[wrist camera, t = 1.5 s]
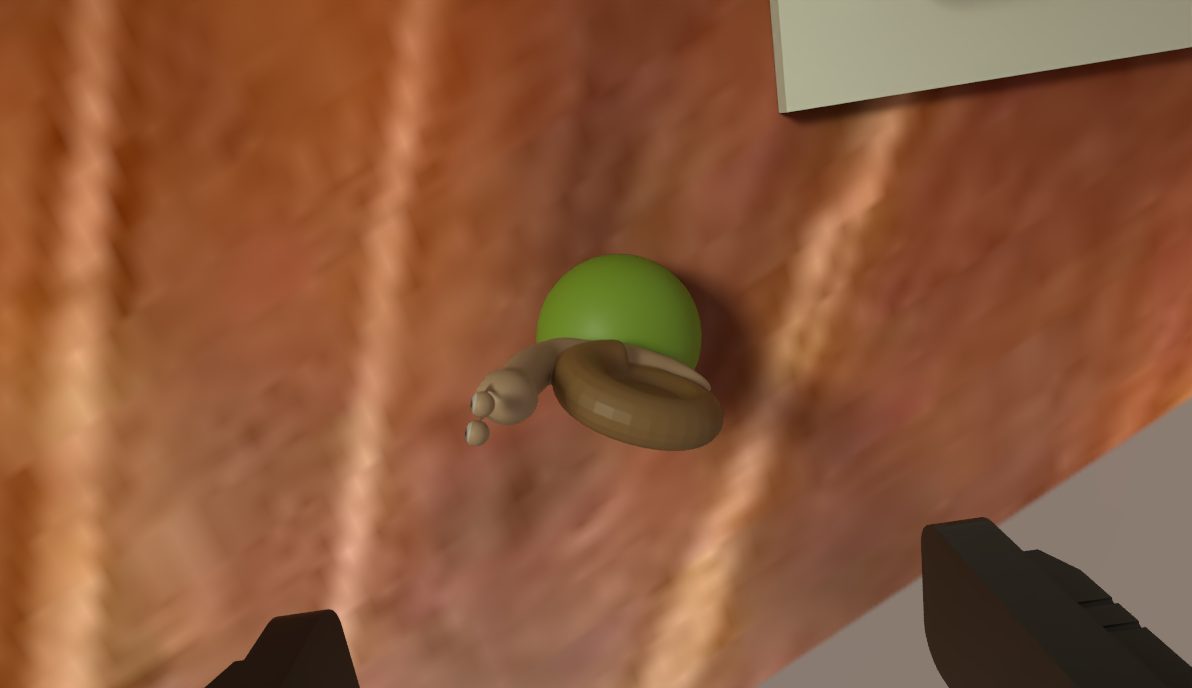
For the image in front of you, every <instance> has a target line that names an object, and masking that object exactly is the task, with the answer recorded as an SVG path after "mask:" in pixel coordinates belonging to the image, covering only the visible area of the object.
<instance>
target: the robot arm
mask: <svg viewBox="0 0 1192 688" xmlns="http://www.w3.org/2000/svg"><path fill="white" fill-rule="evenodd" d="M921 552H922V578H923V603H924V625H925V633H926V638H927V642H928V646H929V649H930V652H931V655H932V658H933V660H934V663H935V665H936V667H937V669H938V671H939V673H940V675H941V676H942V678H943V679H944V681H945V682H946V684H947V686H948V687H949V688H1192V667H1191V666H1189V665H1188V664H1187V663H1186V662H1185V661H1184V660H1183V659H1181V658H1180V657H1179V656H1178V655H1177V654H1176V653H1174V652H1173V651H1172V650H1171V649H1170V648H1169V647H1168V646H1167V645H1166V644H1164V643H1163V642H1162V641H1161V640H1160V639H1159V638H1158V637H1156V636H1155V635H1154V634H1153V633H1152V632H1151V631H1149V630H1148V629H1147V628H1146V627H1144V628H1141V626H1140V625H1139V621H1138V620H1137V619H1136V618H1135V617H1134V616H1132V615H1131V614H1130V613H1129V612H1128V611H1127V610H1125V609H1124V608H1123V607H1122V606H1121V605H1120V604H1119V603H1116V604H1114V603H1113V601H1112V597H1111V596H1109V595H1108V594H1107V593H1106V592H1105V591H1104V590H1103V589H1101V588H1100V587H1099V586H1098V585H1097V584H1096V583H1095V582H1094V581H1092V580H1091V579H1090V578H1089V577H1088V576H1087V575H1086V574H1084V573H1083V572H1082V571H1081V570H1079V569H1077V568H1075V567H1073V566H1071V565H1069V564H1067V563H1065V562H1063V561H1061V560H1059V559H1056V558H1055V557H1053V556H1050V555H1048V554H1046V553H1044V552H1042V551H1040V550H1030V551H1022V550H1021V549H1020V548H1019V547H1018V546H1017V545H1016V544H1015V543H1014V542H1013V541H1012V540H1011V539H1010V538H1009V537H1007V536H1006V535H1005V534H1004V533H1003V532H1002V531H1001V530H1000V529H999V528H998V527H997V526H996V525H995V524H994V523H993V522H992V521H990V520H989V519H987V518H984V517H980V518H973V519H966V520H959V521H952V522H945V523H938V524H931V525H926V526H925V527H924V529H923V531H922V537H921ZM205 688H360V687H359V683H358V680H357V676H356V673H355V670H354V666H353V663H352V659H351V656H350V652H349V649H348V646H347V642H346V639H345V635H344V632H343V628H342V625H341V622H340V620H339V617H338V616H337V614H336V613H335V612H334V611H333V610H330V609H328V610H320V611H313V612H307V613H300V614H293V615H286V616H279V617H275V618H273V619H272V620H271V621H270V622H269V623H268V624H267V626H266V627H265V629H264V630H263V632H262V634H261V635H260V637H259V638H258V640H257V641H256V643H255V644H254V646H253V647H252V649H251V650H250V652H249V653H248V655H247V656H246V658H245V659H244V660H242V661H235V662H233V663H232V664H231V665H230V666H229V667H228V668H227V669H225V670H224V671H223V672H222V673H221V674H220V675H219V676H217V677H216V678H215V679H214V680H213V681H212V682H211V683H209V684H208V685H207V686H206V687H205Z"/></svg>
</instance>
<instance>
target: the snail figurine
mask: <svg viewBox="0 0 1192 688" xmlns="http://www.w3.org/2000/svg"><path fill="white" fill-rule="evenodd" d="M701 344H702V329H701V322H700V317H699V313H698V310H697V307H696V305H695V303H694V300H693V299H692V297H691V295H690V293H689V292H688V290H687V289H686V287H685V286H684V285H683V284H682V282H681V281H680V280H679V279H678V278H677V277H676V276H675V275H674V274H673V273H671V272H670V271H669V270H667V269H666V268H664V267H663V266H661V265H660V264H658V263H656V262H654V261H651V260H649V259H646V258H643V257H639V256H635V255H628V254H610V255H604V256H599V257H595V258H592V259H590V260H587V261H585V262H583V263H581V264H579V265H577V266H575V267H574V268H572V269H571V270H570V271H568V272H567V273H566V274H565V275H564V276H563V277H561V278H560V279H559V281H558V282H557V283H556V284H555V285H554V286H553V288H552V289H551V291H550V292H549V294H548V296H547V297H546V299H545V301H544V303H543V306H542V308H541V311H540V315H539V319H538V324H537V343H536V344H533V345H531V346H529V347H527V348H525V349H523V350H521V351H520V352H518V353H517V354H515V355H514V356H513V357H512V358H510V359H509V360H508V361H507V362H506V363H505V364H504V365H503V366H502V367H501V369H500V370H496V371H493V372H491V373H489V374H488V375H486V377H485V378H484V379H483V381H482V383H481V384H480V385H479V386H478V388H477V390H476V393H475V394H474V396H473V398H472V400H471V411H472V413H473V414H474V415H475V416H477V417H480V418H479V419H478V420H474V421H472V422H470V423H469V424H468V426H467V428H466V432H465V438H466V441H467V442H468V443H469V444H470V445H473V446H480V445H482V444H484V443H485V442H486V441H487V440H488V438H489V428H488V426H487V425H486V424H485V423H484V422H482V421H481V420H482V419H483V418H484V417H486V418H487V419H489V420H490V421H492V422H494V423H497V424H501V425H513V424H517V423H520V422H522V421H524V420H526V419H527V418H528V417H530V416H531V414H532V413H533V412H534V410H535V409H536V406H537V402H538V394H539V393H540V392H542V391H543V390H544V389H545V388H546V387H547V386H548V385H550V384H551V385H552V386H553V390H554V393H555V396H556V398H557V399H558V401H559V403H560V404H561V406H562V407H563V408H564V409H565V410H566V411H567V412H568V413H569V414H570V415H571V416H572V417H573V418H575V419H576V420H578V421H579V422H580V423H582V424H583V425H585V426H587V427H588V428H590V429H592V430H594V431H596V432H598V433H600V434H602V435H605V436H607V437H609V438H612V439H615V440H618V441H621V442H624V443H627V444H631V445H635V446H639V447H643V448H649V449H655V450H665V451H684V450H690V449H695V448H699V447H702V446H704V445H706V444H708V443H709V442H711V441H712V440H713V439H714V438H715V437H716V436H717V435H718V434H719V432H720V430H721V428H722V425H723V410H722V407H721V405H720V403H719V401H718V399H717V398H716V397H715V396H714V395H713V394H712V393H711V392H710V391H711V386H710V384H709V382H708V381H707V380H706V379H705V378H704V377H703V376H701V375H700V374H699V373H697V372H696V371H695V368H696V366H697V363H698V360H699V356H700V351H701Z"/></svg>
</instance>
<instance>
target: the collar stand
mask: <svg viewBox="0 0 1192 688" xmlns="http://www.w3.org/2000/svg"><path fill="white" fill-rule="evenodd" d="M770 8H771V20H772V33H773V45H774V57H775V69H776V82H777V94H778V106H779V113H786V112H792V111H799V110H805V109H811V108H817V107H823V106H830V105H836V104H842V103H848V102H854V101H861V100H867V99H873V98H879V97H885V96H892V95H898V94H904V93H910V92H916V91H922V90H929V89H935V88H941V87H947V86H953V85H960V84H966V83H972V82H978V81H984V80H991V79H997V78H1003V77H1009V76H1015V75H1022V74H1028V73H1034V72H1040V71H1046V70H1053V69H1059V68H1065V67H1071V66H1077V65H1083V64H1090V63H1096V62H1102V61H1108V60H1114V59H1121V58H1127V57H1133V56H1139V55H1145V54H1152V53H1158V52H1164V51H1170V50H1176V49H1183V48H1189V47H1192V0H770Z"/></svg>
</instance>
